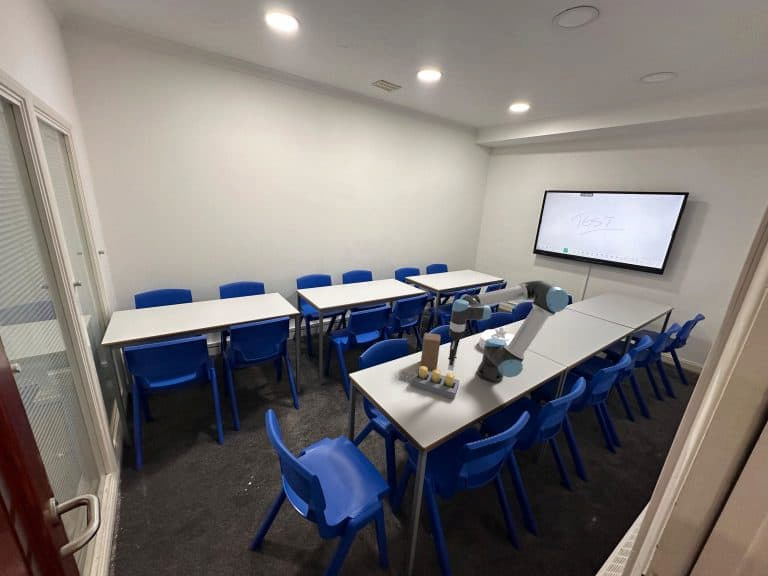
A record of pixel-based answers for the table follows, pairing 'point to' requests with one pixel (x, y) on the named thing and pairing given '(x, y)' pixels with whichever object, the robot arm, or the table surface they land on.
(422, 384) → the button board
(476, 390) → the table surface
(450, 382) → the button
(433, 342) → the wooden block
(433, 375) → the button
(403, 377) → the pattern tile
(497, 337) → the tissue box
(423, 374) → the button
